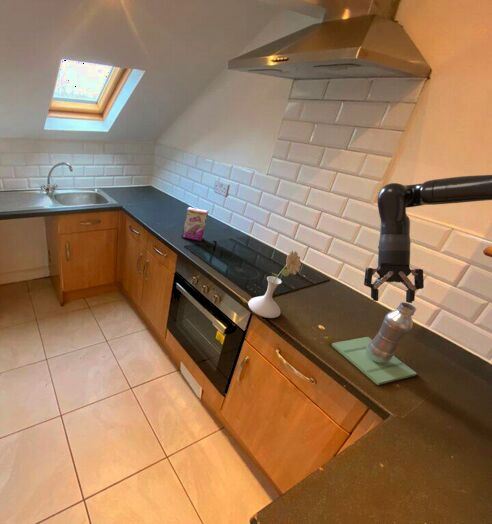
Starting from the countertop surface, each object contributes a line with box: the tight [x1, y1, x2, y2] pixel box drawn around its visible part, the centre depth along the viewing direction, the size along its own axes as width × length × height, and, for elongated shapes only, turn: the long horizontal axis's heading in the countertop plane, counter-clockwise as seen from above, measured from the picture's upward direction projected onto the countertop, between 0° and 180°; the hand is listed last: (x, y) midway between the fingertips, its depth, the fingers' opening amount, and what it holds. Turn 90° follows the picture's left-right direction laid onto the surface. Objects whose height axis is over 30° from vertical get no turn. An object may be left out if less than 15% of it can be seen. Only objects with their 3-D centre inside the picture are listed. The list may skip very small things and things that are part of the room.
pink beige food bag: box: [181, 206, 210, 242], centre depth 162 cm, size 11×5×16 cm, turn 74°
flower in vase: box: [247, 250, 302, 319], centre depth 105 cm, size 13×11×25 cm
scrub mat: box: [331, 336, 418, 386], centre depth 93 cm, size 16×16×1 cm
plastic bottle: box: [366, 302, 417, 364], centre depth 88 cm, size 6×7×20 cm
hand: (392, 301), depth 93 cm, fingers open, 8 cm apart
